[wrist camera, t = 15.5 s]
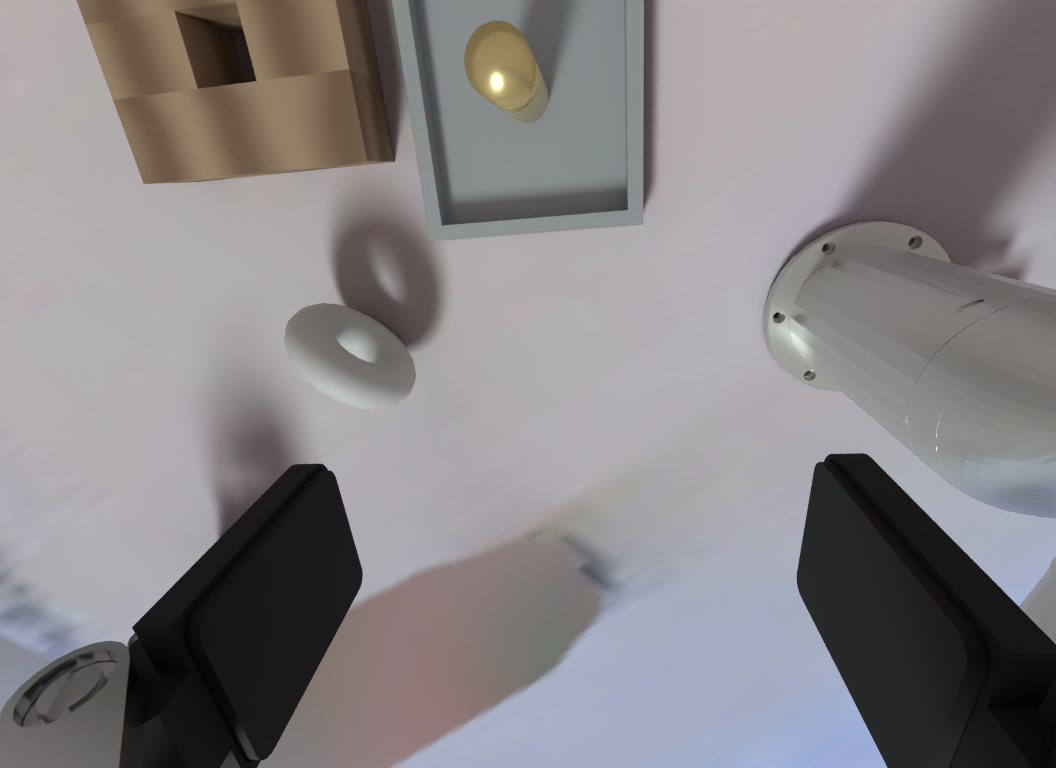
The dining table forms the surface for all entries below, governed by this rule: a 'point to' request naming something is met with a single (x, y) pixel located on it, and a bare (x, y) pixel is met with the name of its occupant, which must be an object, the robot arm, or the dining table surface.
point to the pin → (506, 71)
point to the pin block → (241, 85)
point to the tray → (527, 148)
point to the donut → (349, 356)
